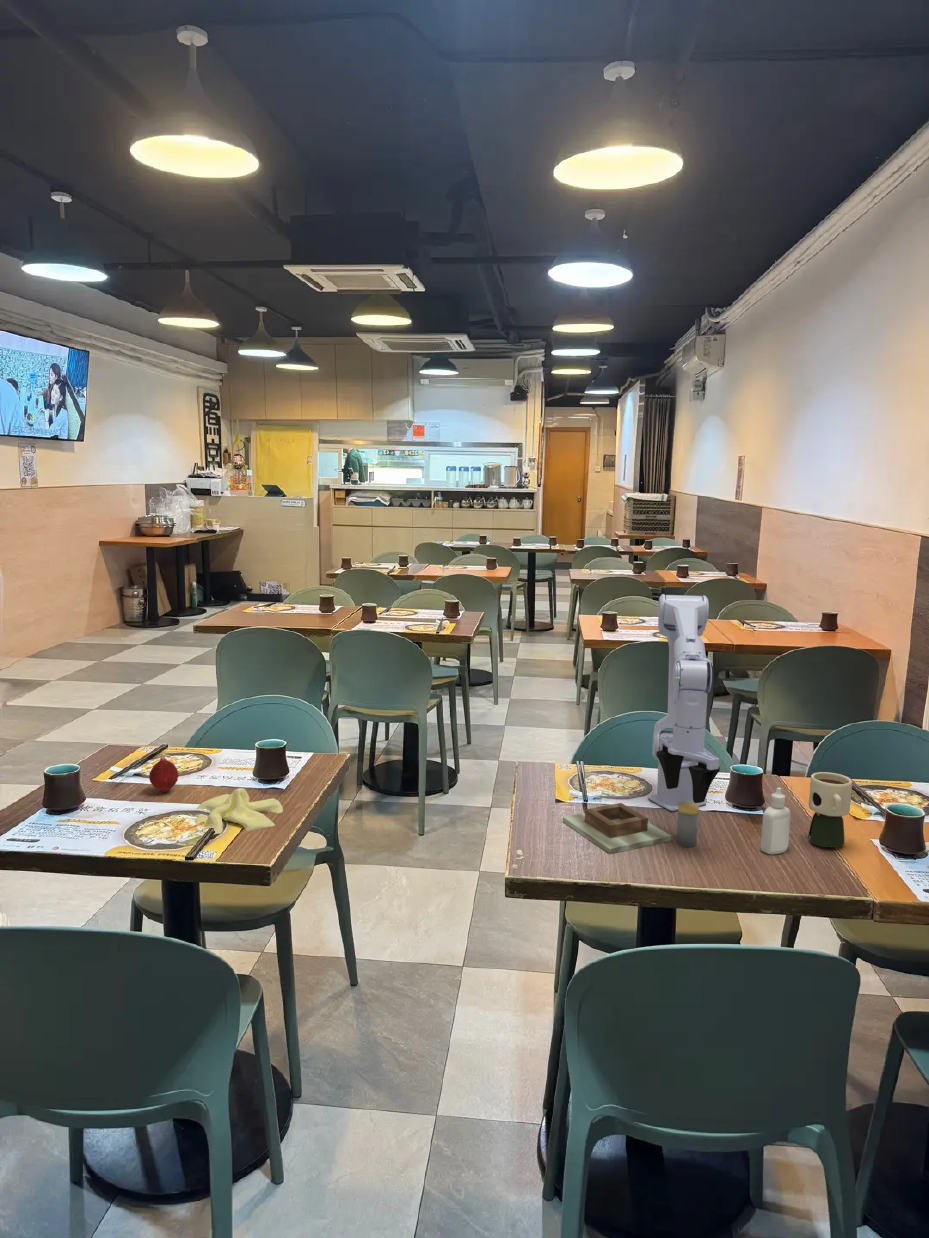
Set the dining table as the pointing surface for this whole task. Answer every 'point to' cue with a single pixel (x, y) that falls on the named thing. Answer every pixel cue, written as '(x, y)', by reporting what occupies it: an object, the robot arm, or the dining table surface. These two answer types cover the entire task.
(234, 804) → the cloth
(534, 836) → the dining table surface
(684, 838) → the yellow capped shaker
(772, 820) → the eye dropper bottle
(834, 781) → the character mug
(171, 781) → the onion
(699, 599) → the robot arm
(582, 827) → the holder
